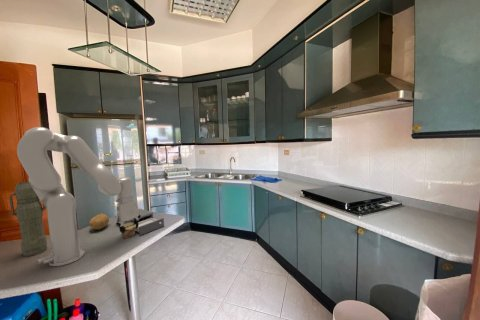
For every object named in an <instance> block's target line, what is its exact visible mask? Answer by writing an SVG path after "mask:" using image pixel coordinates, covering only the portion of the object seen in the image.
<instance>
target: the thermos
mask: <svg viewBox="0 0 480 320" xmlns="http://www.w3.org/2000/svg"><path fill="white" fill-rule="evenodd" d="M13 196H15V200H16V208H15V207H14V201H13ZM8 199H9V204H10V211H11V215H12V216H15V217H16V220H17V221H18V224H19V231H20V235H21V236H20V237H21V242H20V249H21V251H22V256H23V257H31V256H35V255H39V254H41V253H43V252H46V251H47V250H48V245H47V244H48V242H47V241H48V239H47V236H46V234H45V229H44V223H43V216H44V214H43V213H44V211H45V210H47V208H46V207H45V206H44V205H43V203H42V202H41V200H40V199H39V197H38V196H37V194H36V193H35V191H34V190H33V188H32V187H31V185H30V183H29V180H28V181H21V182H19V183H16V186H15V188H14V192H12V193H11V194H10V196H9V198H8Z"/></svg>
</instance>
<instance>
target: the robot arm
mask: <svg viewBox="0 0 480 320" xmlns="http://www.w3.org/2000/svg"><path fill="white" fill-rule="evenodd" d="M48 151H52V152H57V153H64V154H66V155H68V157H69V158H71V160H72V161H73V162H74V163H75V164H76V165H77V167H78V168H79V169H80V170H81V171H82V172H83V173H85V174H86V175H88V176H89V177H91V178H92V179H93V180H95V181H96V182H97V183H98V185H97V189H98V191H99V192H101V193H102V194H105V195H107V196H111V197H113V196H117V199H115V203H117V204H116V215H115V216H114V218H113V219H112V223H113V224H114V225H116V226H117V225H118V226H117V227H118V228H119V232H120V233H121V232H122V233H125V231H124V226H123V223H124V222H125V221H128V220H131V219H133V218H134V219H135V220H134V223H136V227H137V228H138V225H139V223H138V220H139V218H140V217H141V214H142V213H143V212H142V211H140V210H138V209H139V207H138V204H137V200H136V199H134V198H135V197H134V191H133V182H132V178H131V177H130V176H122V177H118V178H117V176H115V175H114V173H113V172H112V171H111V170H110V169H109V168H108V167H107V166H106V165H105V164H104V163H103V162H102V161H101V159H99V158H98V157H97V155H96V154H95V153H94V152H93V150H92V149H91V148H90V147H89V145H88V144H87V143H86V142H85V141H84V139H83V138H81V137H80V136H79V135H65V134H60V133H56V132H52V130H50V129H49V128H47V127H43V126H36V127H32V128H30V129H28V130H26V131H25V132H24V134H23V135H22V137H21V138H20V139H19V142H18V144H17V148H16V154H17V158H18V160H19V162H20V164H21V165H22V167H23V169H24V171H25V172H26V175H27V176H28V181H29V183H30V185H31V187H32V188H33V190H34V191H35V193H36V194H37V196H38V199H39V201H40V203H41V204H42V206H43V205H44V206H45V207H46V211H47V222H48V223H47V224H48V230H49V238H50V245H51V251H50V253H49V254H48V255H47V256H44V257H41V258H38V259H37V262H38V265H40V264H42V263H43V264H44V265H45V264H48V265H49V266H51V267H60V266H65V265H69V264H72V263H73V262H76V261H78V260H80V259H81V258H83V256H84V255H85V249H82V248H80V239H79V231H78V222H77V214H76V213H77V212H76V210H77V208H76V206H77V203H76V198H75V196H73V194H72V193H70V192H68V191H67V190H66V189H65V188H64V185H63V184H62V177H61V176H60V174H59V172H58V171H57V169H56V167H55V166H54V164H53V163H52V161H51V159H50V157H49V155H48ZM117 220H120V221H119V223H118V222H117Z"/></svg>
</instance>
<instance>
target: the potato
mask: <svg viewBox="0 0 480 320" xmlns="http://www.w3.org/2000/svg"><path fill="white" fill-rule="evenodd" d="M109 219H110V218H109V216H108V215H107V214H105V213H98V214H97V215H95V216H93V217H92V218H91V219H90V220H89V222H88V225H89V227H90V228H91V229H93V230H97V231H99V230H101V229H103V228H105V227H106V226H107V225H108V223H109Z"/></svg>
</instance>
